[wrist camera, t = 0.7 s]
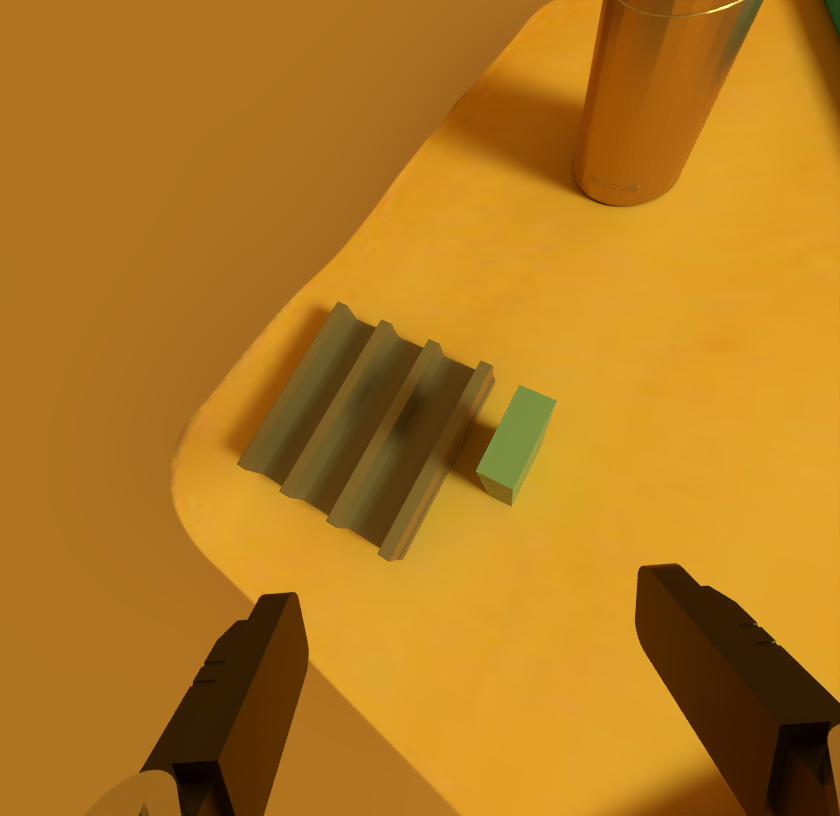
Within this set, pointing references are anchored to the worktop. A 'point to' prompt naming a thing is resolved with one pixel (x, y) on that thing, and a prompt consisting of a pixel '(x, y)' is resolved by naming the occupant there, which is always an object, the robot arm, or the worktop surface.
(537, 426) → the card
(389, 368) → the rack
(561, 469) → the worktop surface
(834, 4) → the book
